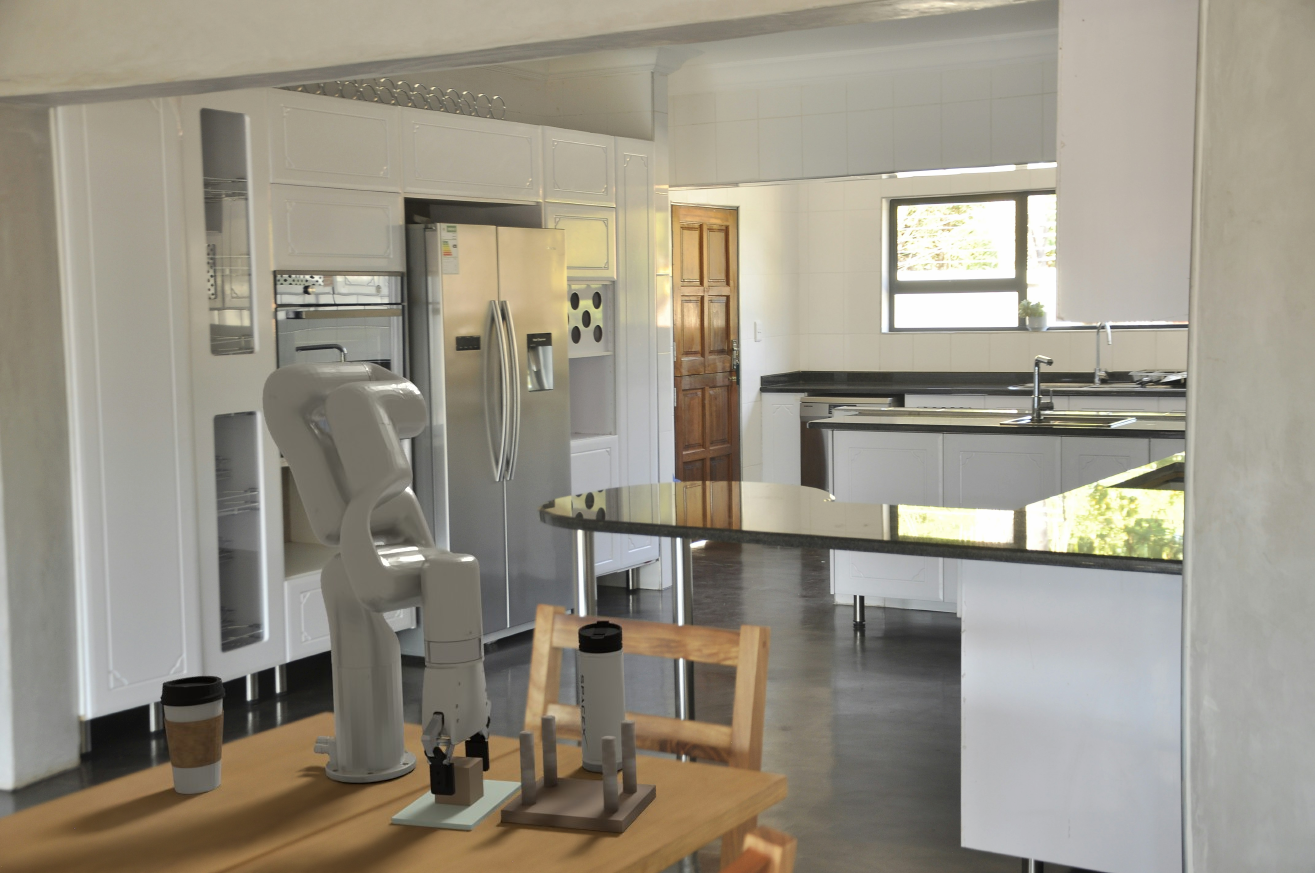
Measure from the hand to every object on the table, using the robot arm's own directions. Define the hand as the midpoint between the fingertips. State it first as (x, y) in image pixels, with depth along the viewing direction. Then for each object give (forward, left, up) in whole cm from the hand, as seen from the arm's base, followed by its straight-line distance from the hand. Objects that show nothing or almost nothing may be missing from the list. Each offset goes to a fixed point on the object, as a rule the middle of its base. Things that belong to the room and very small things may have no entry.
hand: (461, 781), depth 161 cm
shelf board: (0, 0, -4) cm, 4 cm away
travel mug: (+13, +19, -3) cm, 23 cm away
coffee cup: (-39, -2, -3) cm, 40 cm away
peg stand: (+16, +2, -3) cm, 16 cm away
